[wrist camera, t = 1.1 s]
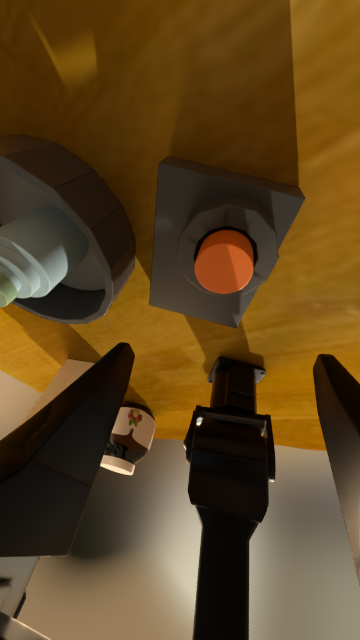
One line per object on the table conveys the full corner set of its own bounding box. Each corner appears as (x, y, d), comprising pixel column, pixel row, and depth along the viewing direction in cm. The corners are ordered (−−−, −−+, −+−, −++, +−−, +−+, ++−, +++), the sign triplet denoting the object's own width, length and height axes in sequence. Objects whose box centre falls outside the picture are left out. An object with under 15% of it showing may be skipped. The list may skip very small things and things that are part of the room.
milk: (80, 375, 43) (-11, 523, 28) (67, 357, 39) (-48, 520, 24) (107, 380, 42) (28, 538, 27) (97, 362, 38) (-5, 537, 23)
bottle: (92, 267, 22) (35, 327, 17) (43, 254, 23) (-30, 309, 17) (83, 213, 19) (5, 267, 13) (24, 198, 19) (-80, 244, 13)
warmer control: (237, 313, 23) (235, 342, 20) (155, 291, 23) (143, 317, 21) (300, 187, 14) (311, 208, 12) (167, 155, 15) (149, 168, 12)
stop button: (241, 283, 16) (240, 300, 15) (194, 270, 16) (189, 286, 15) (262, 237, 13) (263, 252, 12) (205, 222, 14) (201, 236, 12)
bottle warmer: (135, 307, 26) (117, 339, 22) (21, 276, 26) (-13, 303, 23) (135, 162, 15) (102, 180, 12) (-53, 116, 16) (-137, 120, 12)
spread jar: (163, 415, 49) (147, 478, 41) (140, 423, 56) (122, 477, 48) (116, 392, 45) (88, 455, 37) (98, 403, 52) (71, 458, 44)
